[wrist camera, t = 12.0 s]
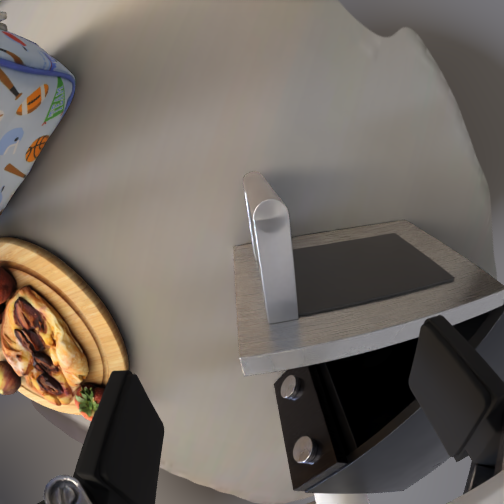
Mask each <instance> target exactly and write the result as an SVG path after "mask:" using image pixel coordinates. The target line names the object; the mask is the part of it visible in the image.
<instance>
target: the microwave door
mask: <svg viewBox="0 0 504 504" xmlns="http://www.w3.org/2000/svg"><path fill="white" fill-rule="evenodd" d="M243 187H244V193H245V200H246V207H247V213H248V220H249V226H250V233H251V240H252V244H246V245H239V246H234V247H233V254H234V274H235V292H236V310H237V326H238V343H239V358H240V363H241V367H242V371H243V375H244V376H252V375H259V374H265V373H271V372H277V371H283V370H288V369H294V368H299V367H304V366H309V365H314V364H319V363H324V362H328V361H333V360H337V359H341V358H345V357H350V356H354V355H358V354H362V353H365V352H369V351H373V350H377V349H380V348H384V347H387V346H391V345H394V344H398V343H401V342H404V341H408V340H411V339H414V338H417V337H419V333H420V328H421V326H422V325H423V324H424V321H425V320H426V319H428V318H431V317H435V316H438V315H442V316H444V317H445V318H446V319H447V320H448V321H449V323H450V324H451V325H452V326H453V325H455V324H458V323H461V322H463V321H466V320H469V319H471V318H474V317H476V316H479V315H481V314H484V313H486V312H488V311H491V310H493V309H496V308H498V307H500V306H503V303H504V285H502V284H501V283H500V282H498V281H497V280H496V279H494V278H493V277H491V276H490V275H489V274H487V273H486V272H485V271H483V270H482V269H480V268H479V267H478V266H476V265H475V264H473V263H472V262H470V261H469V260H467V259H466V258H464V257H463V256H462V255H460V254H459V253H457V252H456V251H454V250H453V249H451V248H449V247H448V246H446V245H445V244H443V243H442V242H440V241H439V240H437V239H436V238H434V237H432V236H431V235H429V234H428V233H426V232H424V231H423V230H421V229H419V228H418V227H416V226H415V225H413V224H411V223H410V222H408V221H406V220H401V221H394V222H388V223H381V224H374V225H368V226H361V227H355V228H348V229H342V230H335V231H329V232H322V233H316V234H309V235H303V236H296V237H291V228H290V218H289V211H288V209H287V207H286V205H285V204H284V203H283V201H282V200H281V199H280V197H279V196H278V195H277V194H276V192H275V191H274V190H273V188H272V187H271V186H270V184H269V183H268V182H267V181H266V179H265V178H264V177H263V175H262V174H261V173H259V172H256V171H252V172H249V173H247V174H246V175H245V177H244V179H243Z"/></svg>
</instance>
